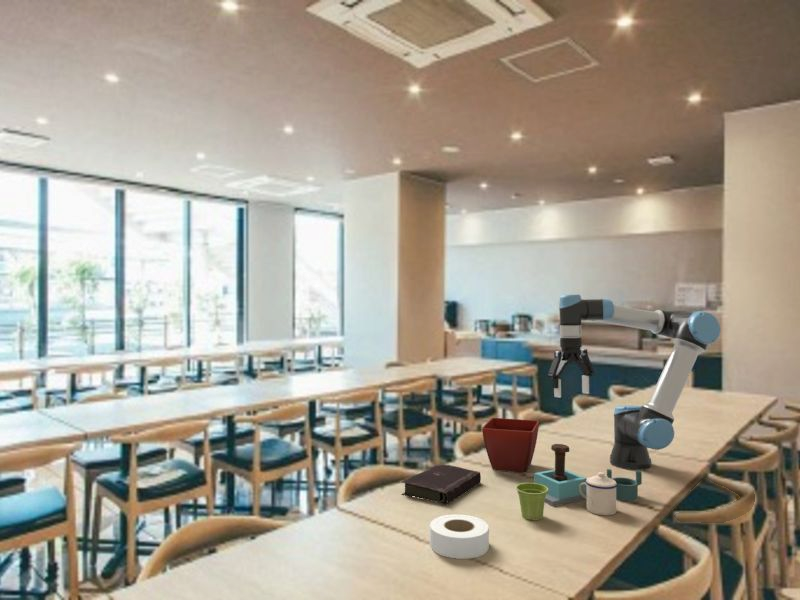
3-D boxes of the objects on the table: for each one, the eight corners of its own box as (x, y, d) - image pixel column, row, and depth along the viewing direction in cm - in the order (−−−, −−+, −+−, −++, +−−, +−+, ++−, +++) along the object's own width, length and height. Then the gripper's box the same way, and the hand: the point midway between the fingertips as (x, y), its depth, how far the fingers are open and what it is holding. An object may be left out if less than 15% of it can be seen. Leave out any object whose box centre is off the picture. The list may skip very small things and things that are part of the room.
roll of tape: (450, 528, 157) (450, 509, 157) (499, 543, 148) (499, 522, 148) (417, 548, 145) (417, 527, 145) (469, 565, 135) (469, 543, 135)
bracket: (644, 498, 180) (643, 470, 180) (625, 503, 175) (625, 475, 175) (620, 490, 187) (620, 464, 187) (602, 495, 183) (602, 468, 183)
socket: (567, 485, 192) (567, 466, 192) (595, 497, 181) (595, 477, 181) (526, 493, 185) (526, 474, 185) (552, 506, 173) (552, 485, 173)
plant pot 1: (481, 471, 208) (481, 427, 208) (492, 458, 226) (492, 417, 226) (532, 477, 201) (532, 431, 201) (539, 463, 218) (539, 420, 218)
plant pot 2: (530, 525, 159) (530, 495, 159) (509, 514, 167) (509, 485, 167) (555, 519, 163) (554, 490, 163) (533, 508, 171) (533, 480, 171)
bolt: (548, 487, 185) (549, 443, 185) (562, 487, 186) (564, 443, 185) (555, 494, 179) (556, 448, 179) (570, 493, 180) (571, 448, 180)
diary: (481, 485, 195) (481, 471, 195) (447, 508, 174) (447, 492, 174) (435, 475, 205) (436, 462, 205) (398, 495, 184) (399, 480, 184)
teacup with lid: (622, 511, 169) (622, 473, 169) (607, 518, 163) (607, 479, 163) (587, 500, 178) (587, 464, 178) (571, 507, 172) (571, 470, 172)
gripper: (588, 334, 208) (589, 390, 208) (537, 338, 197) (538, 397, 197) (603, 335, 202) (604, 393, 202) (551, 339, 190) (552, 400, 190)
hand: (571, 395), depth 199 cm, fingers open, 13 cm apart
